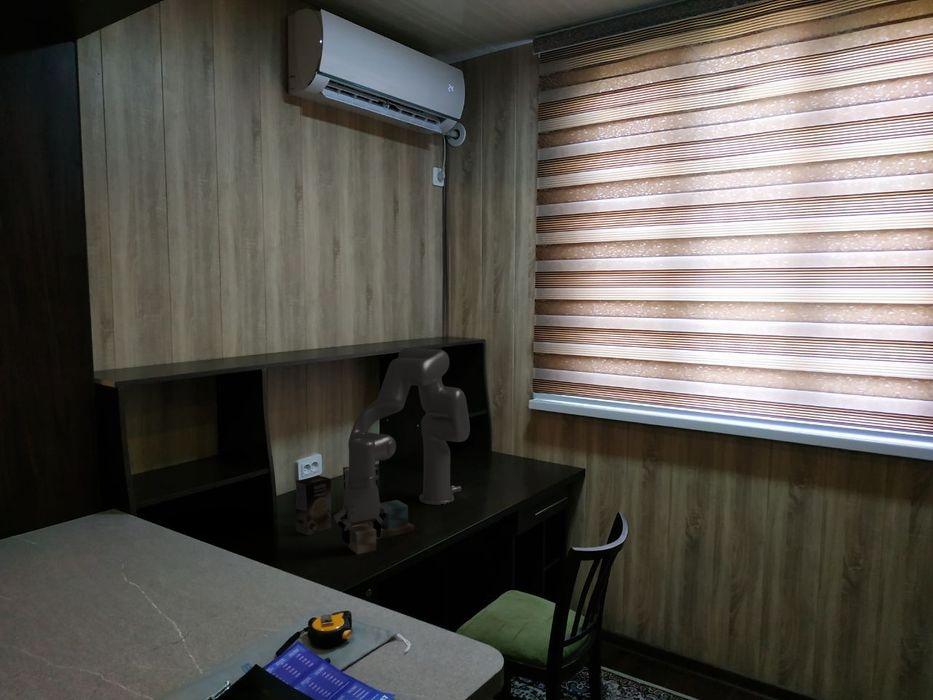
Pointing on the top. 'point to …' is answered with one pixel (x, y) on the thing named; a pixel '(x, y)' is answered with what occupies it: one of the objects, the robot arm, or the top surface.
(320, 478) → the coffee box
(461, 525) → the top surface
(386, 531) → the base
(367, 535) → the maple block
